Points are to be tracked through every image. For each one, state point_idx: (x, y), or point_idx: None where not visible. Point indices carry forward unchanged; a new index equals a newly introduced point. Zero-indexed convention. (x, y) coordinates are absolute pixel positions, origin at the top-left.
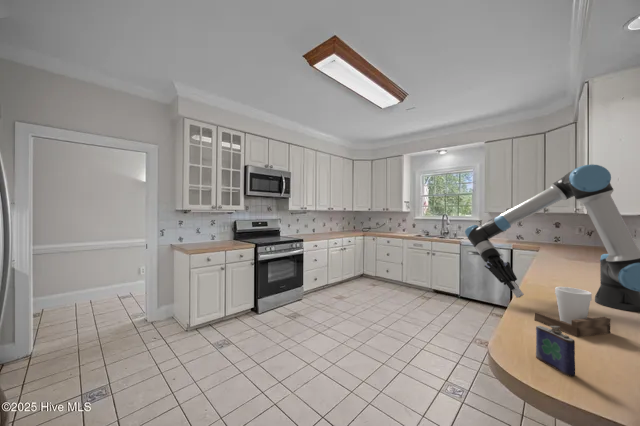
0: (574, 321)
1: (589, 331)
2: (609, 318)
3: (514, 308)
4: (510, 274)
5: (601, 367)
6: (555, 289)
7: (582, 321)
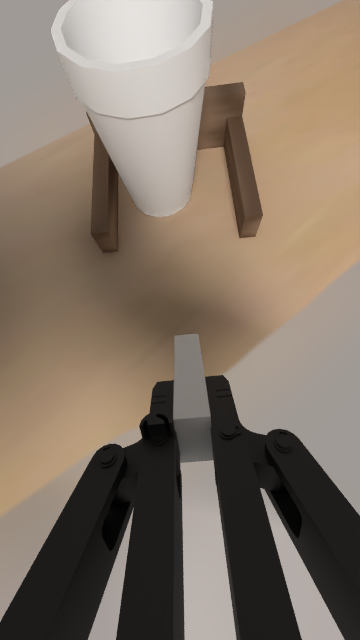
0: (243, 89)
1: None
2: None
3: (225, 362)
4: (132, 527)
5: (328, 40)
6: (193, 57)
7: (217, 86)
